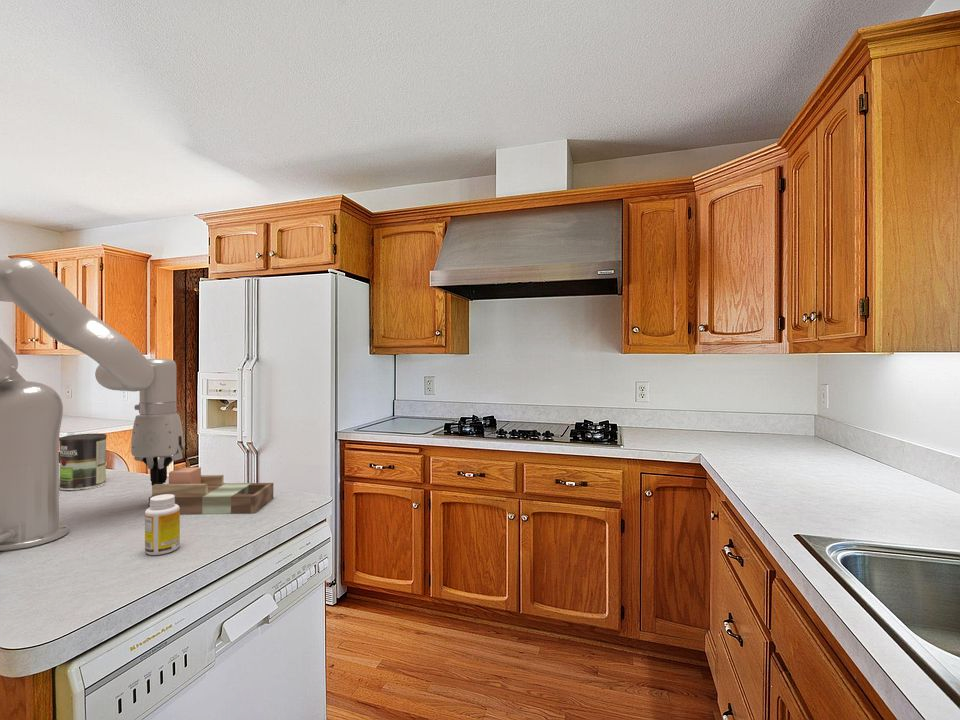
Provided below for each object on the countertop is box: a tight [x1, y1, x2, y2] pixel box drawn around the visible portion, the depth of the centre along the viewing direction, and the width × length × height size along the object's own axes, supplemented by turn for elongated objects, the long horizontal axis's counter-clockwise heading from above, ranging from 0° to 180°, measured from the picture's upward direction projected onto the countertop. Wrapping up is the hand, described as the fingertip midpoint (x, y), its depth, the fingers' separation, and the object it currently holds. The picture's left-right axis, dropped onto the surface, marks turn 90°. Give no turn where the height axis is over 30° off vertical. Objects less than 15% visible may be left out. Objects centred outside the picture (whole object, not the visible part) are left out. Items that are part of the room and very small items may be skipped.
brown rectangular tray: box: [148, 474, 274, 515], centre depth 118 cm, size 12×24×6 cm, turn 94°
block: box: [168, 466, 202, 484], centre depth 118 cm, size 5×5×5 cm
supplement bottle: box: [144, 494, 181, 556], centre depth 92 cm, size 6×6×10 cm
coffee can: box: [59, 432, 107, 491], centre depth 135 cm, size 10×10×14 cm
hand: (158, 483), depth 117 cm, fingers closed
